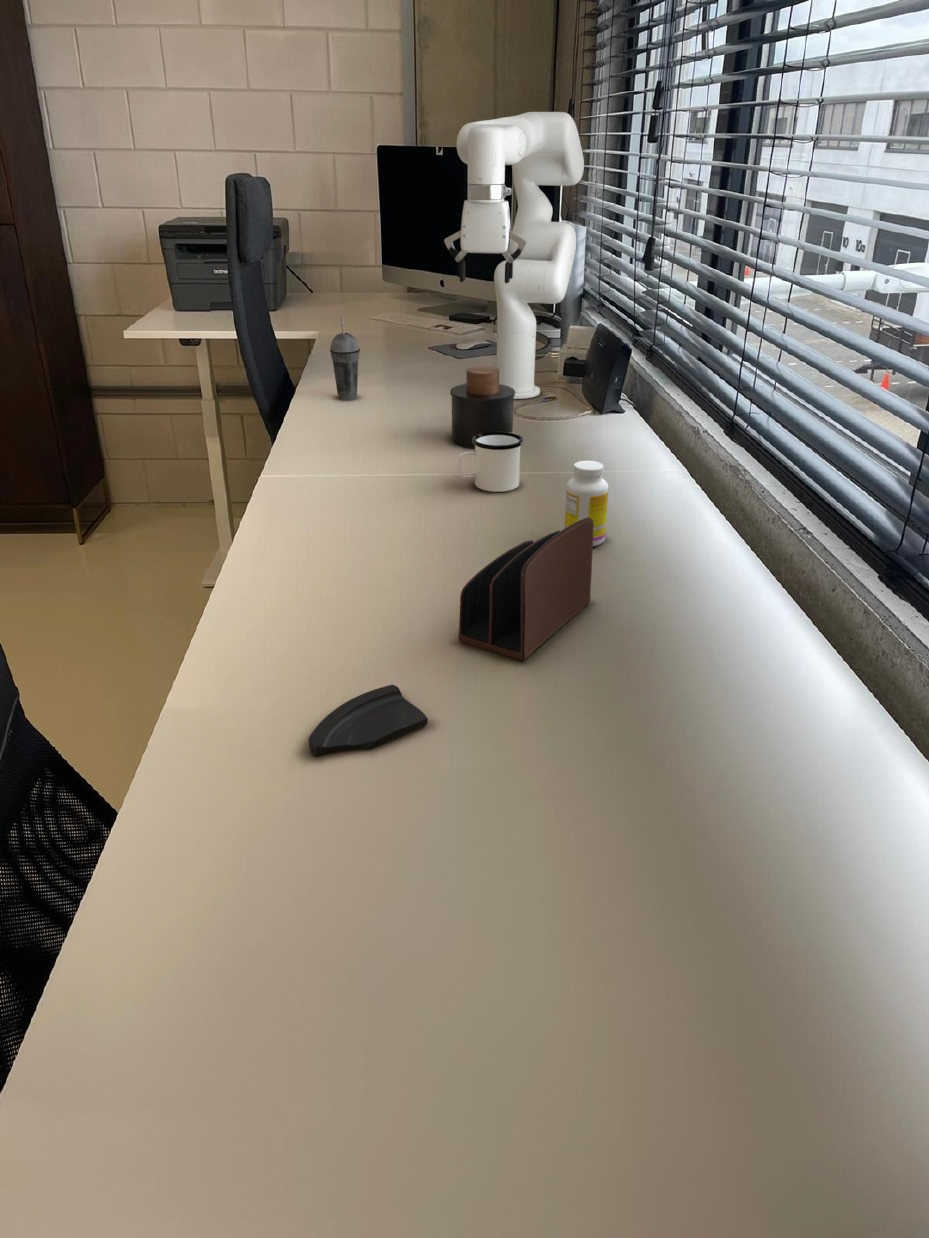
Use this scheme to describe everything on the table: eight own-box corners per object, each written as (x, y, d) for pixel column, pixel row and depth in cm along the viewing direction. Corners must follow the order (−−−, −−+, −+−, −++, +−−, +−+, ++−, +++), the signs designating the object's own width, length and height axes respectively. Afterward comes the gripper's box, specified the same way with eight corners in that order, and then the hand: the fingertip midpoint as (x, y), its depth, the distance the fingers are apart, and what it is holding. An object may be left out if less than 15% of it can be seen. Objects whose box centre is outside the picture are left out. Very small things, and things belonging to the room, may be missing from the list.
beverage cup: (365, 394, 236) (361, 311, 227) (359, 402, 230) (355, 317, 220) (336, 393, 237) (331, 311, 227) (329, 401, 230) (324, 316, 221)
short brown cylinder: (469, 386, 201) (469, 365, 199) (500, 387, 200) (501, 366, 198) (463, 394, 195) (463, 372, 193) (496, 395, 194) (496, 374, 192)
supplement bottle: (608, 535, 157) (614, 461, 151) (600, 550, 151) (606, 474, 145) (568, 530, 158) (573, 456, 152) (559, 545, 153) (563, 469, 147)
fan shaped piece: (289, 731, 106) (288, 719, 106) (392, 694, 113) (392, 682, 112) (324, 767, 100) (323, 755, 100) (431, 726, 107) (431, 714, 106)
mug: (515, 475, 183) (516, 429, 179) (527, 492, 175) (529, 444, 170) (454, 479, 181) (454, 433, 176) (464, 496, 172) (464, 448, 168)
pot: (456, 429, 210) (456, 381, 205) (517, 432, 208) (518, 384, 203) (444, 447, 198) (444, 397, 193) (509, 451, 196) (510, 400, 191)
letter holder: (590, 603, 135) (597, 510, 128) (523, 663, 120) (527, 561, 113) (529, 586, 139) (532, 496, 133) (457, 642, 124) (457, 544, 118)
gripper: (530, 193, 195) (527, 280, 203) (447, 192, 198) (448, 278, 206) (525, 195, 189) (523, 285, 197) (440, 194, 191) (441, 283, 199)
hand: (484, 281), depth 201 cm, fingers open, 9 cm apart
